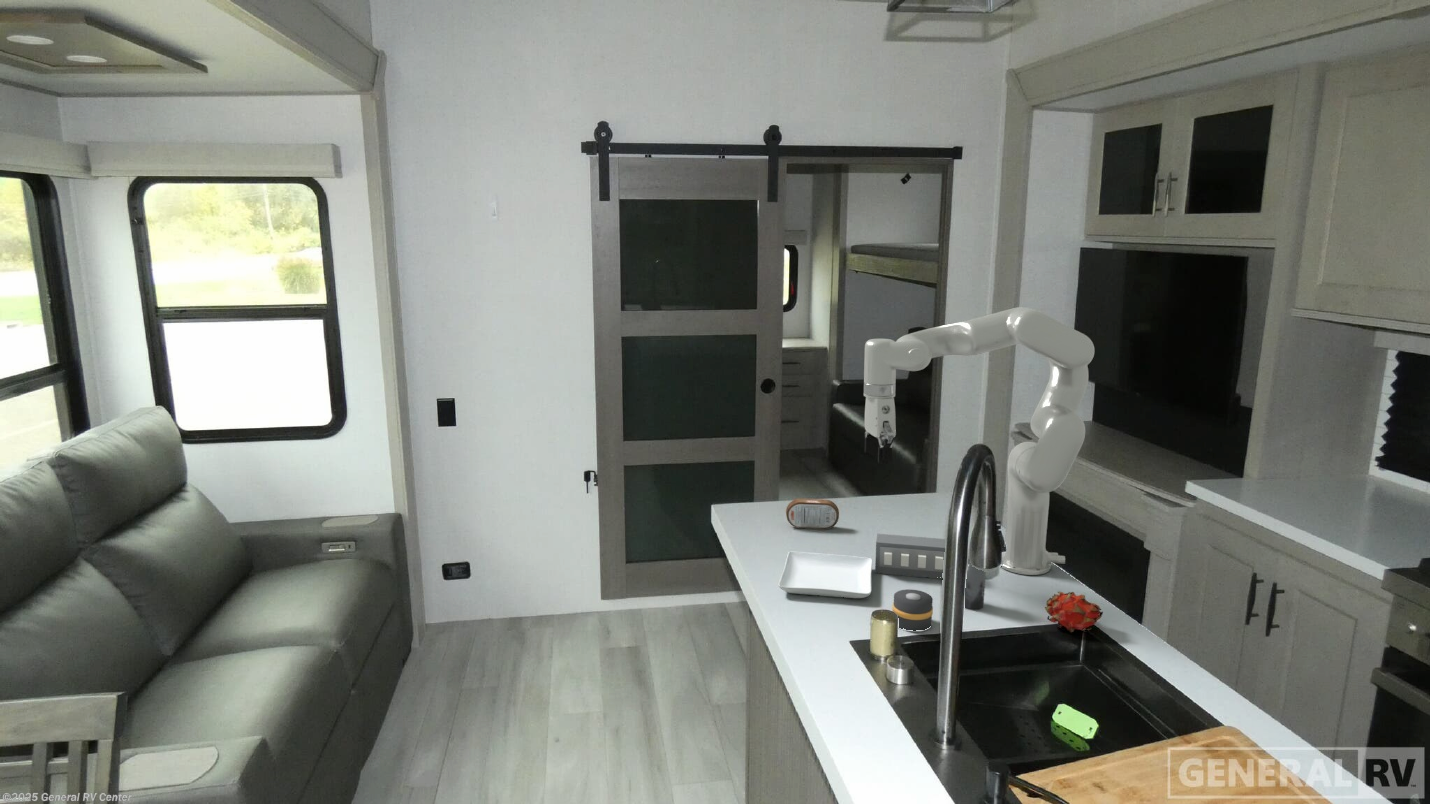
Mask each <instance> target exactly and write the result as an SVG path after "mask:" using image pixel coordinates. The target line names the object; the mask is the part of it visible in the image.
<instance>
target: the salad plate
mask: <svg viewBox="0 0 1430 804" xmlns="http://www.w3.org/2000/svg"><path fill="white" fill-rule="evenodd" d="M786 555H787V556H786V559H785V563H784V566H783V571H782V573H781V575H780V578H779V580H778V587H779V588H780V590H782V591H784V592H786V593H789V594H797V595H798V594H799V595H805V596H806V595H808V596H817V595H820V596H819V597H832V598H843V597H844V598H845V599H847V598H848V599H863V598H867V597H869V596H870V595H871V593H872V569H873V559H872V558H870V557H866V556H855V555H844V554H832V553H824V552H823V553H820V552H819V553H818V552H807V551H806V552H804V551H792V550H791V551H788V552H787V554H786Z"/></svg>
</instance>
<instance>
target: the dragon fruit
mask: <svg viewBox="0 0 1430 804" xmlns="http://www.w3.org/2000/svg"><path fill="white" fill-rule="evenodd" d="M1044 609H1045V611H1046V613H1047V614H1048V616H1047V620H1048V621H1049V622H1050V623H1056V622H1057V625H1061V627H1060V628H1063V627H1062V626H1064V628H1066V630H1067V631H1069V632H1070V633H1073V632H1074V631H1075V630H1079V631H1083V632H1084V633H1085V632H1086V631H1084V630H1083V629H1084V628H1086V630H1088V631H1090V630H1092V629H1093V628H1092V627H1091V626H1093V625H1095V624H1096V622H1098V620H1100V619H1101V618H1102V616H1103V614H1104V611H1101V610H1102V608H1101V607H1100V606H1099V605H1098V604H1095V602H1094V603H1093V602H1089V601H1088V600H1086V596H1085V595H1084V594H1079V595H1076V593H1075V592H1074V591H1072V592H1071V591H1068V593H1064V592H1062V591H1057V593H1054V595H1052V597H1049V599H1046V606H1044ZM1050 617H1051V618H1050Z"/></svg>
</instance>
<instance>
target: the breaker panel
mask: <svg viewBox="0 0 1430 804" xmlns="http://www.w3.org/2000/svg"><path fill="white" fill-rule="evenodd" d="M945 539H946V538H935V537H926V536H923V537H922V536H911V535H900V534H887V533H877V534H876V539H875V541H876V542H875V565H874V566H875V567H874V569H875V571H874V573H875V574H885V575H893V574H894V576H895V575H896V576H905V577H917V578H926V577H929V578H928V579H937V577H938V579H939V580H943V579H942V573H943V560H944V552H945ZM940 577H941V579H940Z"/></svg>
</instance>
